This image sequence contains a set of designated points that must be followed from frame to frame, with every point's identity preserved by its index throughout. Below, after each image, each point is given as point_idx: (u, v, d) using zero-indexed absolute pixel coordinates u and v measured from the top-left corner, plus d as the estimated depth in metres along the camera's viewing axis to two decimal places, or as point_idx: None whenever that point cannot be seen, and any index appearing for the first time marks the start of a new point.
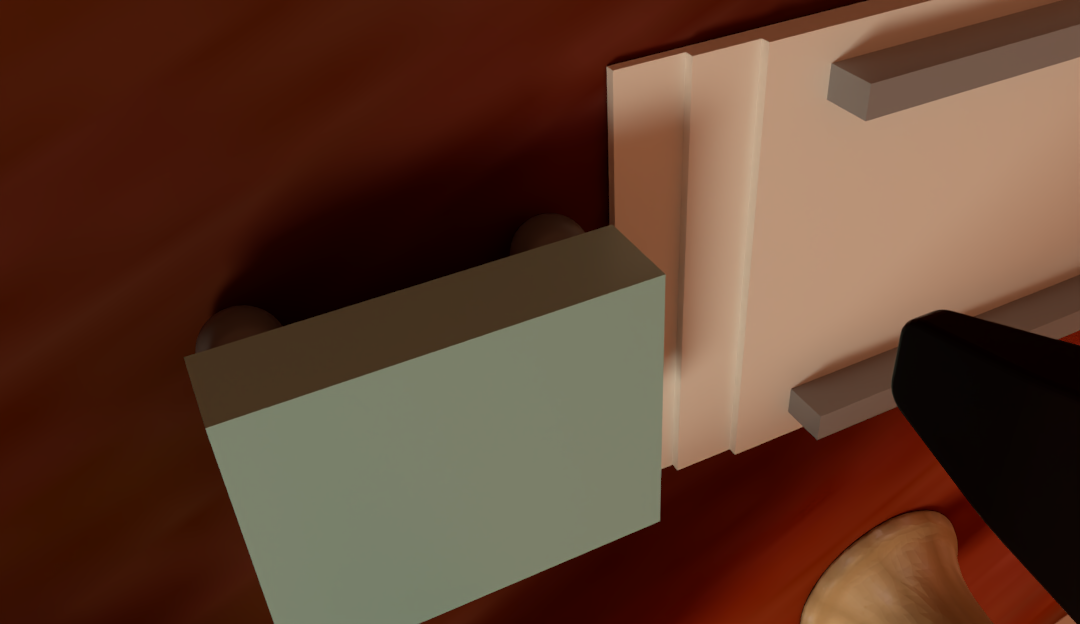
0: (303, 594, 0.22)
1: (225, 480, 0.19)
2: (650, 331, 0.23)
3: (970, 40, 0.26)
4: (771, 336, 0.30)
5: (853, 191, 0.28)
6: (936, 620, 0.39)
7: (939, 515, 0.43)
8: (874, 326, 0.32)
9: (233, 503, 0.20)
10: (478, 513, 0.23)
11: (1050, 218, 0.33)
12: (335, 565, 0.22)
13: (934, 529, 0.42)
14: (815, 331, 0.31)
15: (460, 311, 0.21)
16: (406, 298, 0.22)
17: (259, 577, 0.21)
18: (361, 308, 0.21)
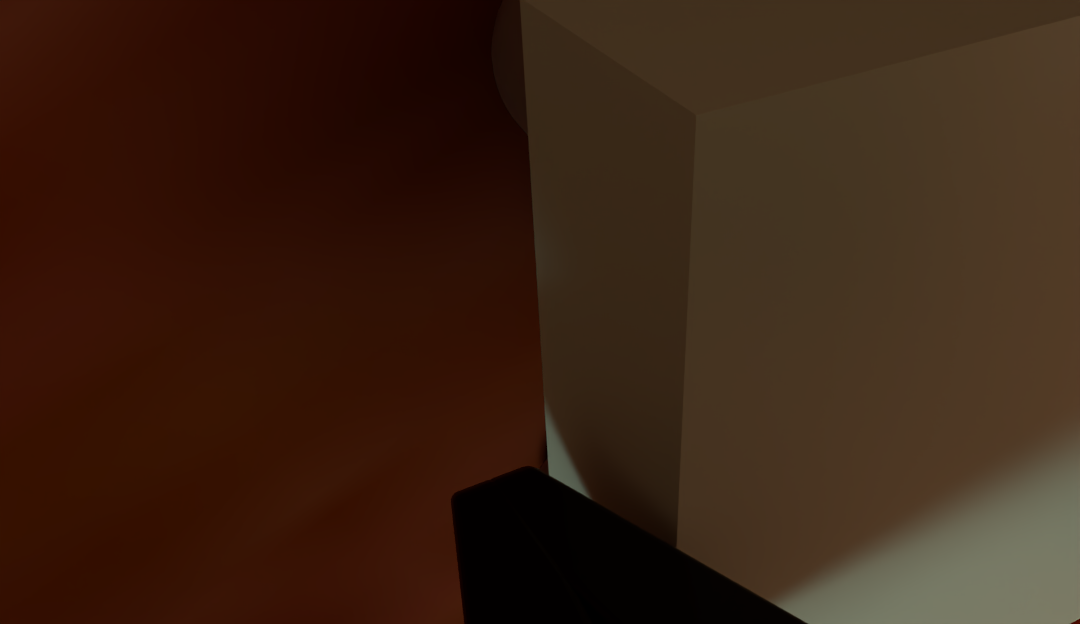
0: None
1: (689, 318, 0.06)
2: None
3: None
4: None
5: None
6: None
7: None
8: None
9: (686, 396, 0.07)
10: None
11: None
12: (826, 581, 0.09)
13: None
14: None
15: None
16: None
17: None
18: None
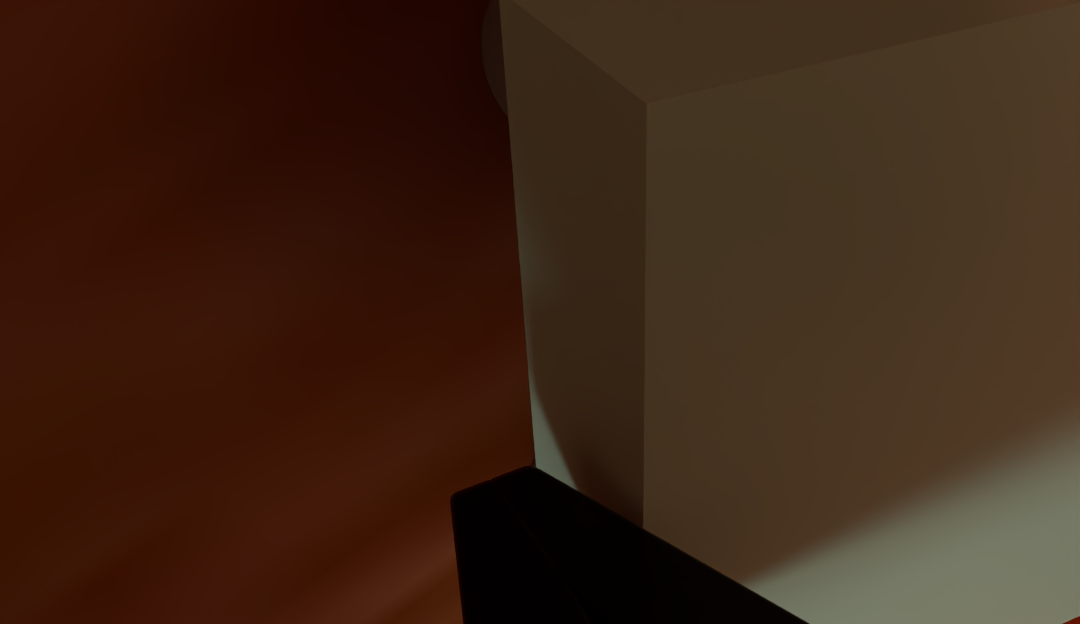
0: None
1: (647, 303, 0.07)
2: None
3: None
4: None
5: None
6: None
7: None
8: None
9: (647, 379, 0.07)
10: None
11: None
12: (801, 569, 0.09)
13: None
14: None
15: None
16: None
17: None
18: None
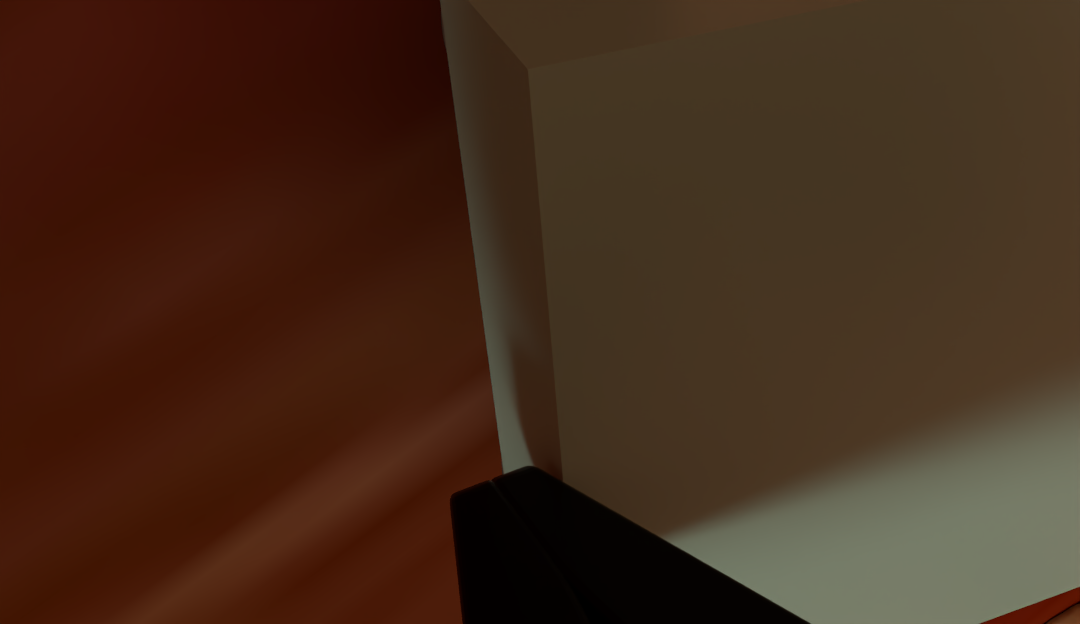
0: None
1: (547, 261, 0.07)
2: None
3: None
4: None
5: None
6: None
7: None
8: None
9: (554, 335, 0.07)
10: (1036, 442, 0.10)
11: None
12: (733, 532, 0.09)
13: None
14: None
15: None
16: None
17: None
18: None
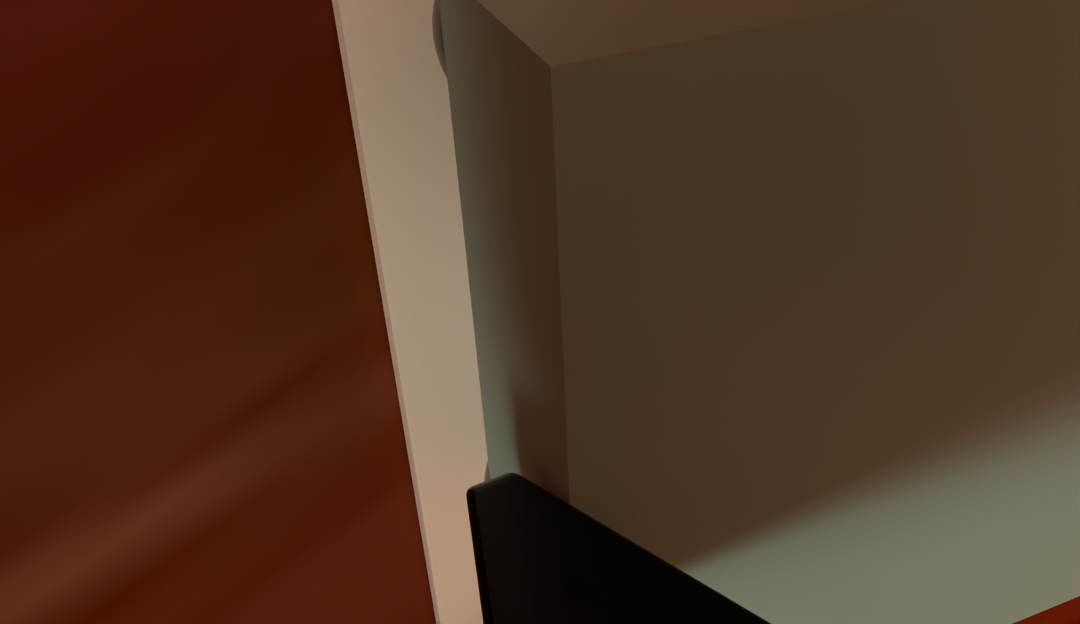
0: None
1: (562, 270, 0.07)
2: None
3: None
4: None
5: None
6: None
7: None
8: None
9: (566, 348, 0.07)
10: (1033, 454, 0.10)
11: None
12: (738, 551, 0.09)
13: None
14: None
15: None
16: None
17: None
18: None
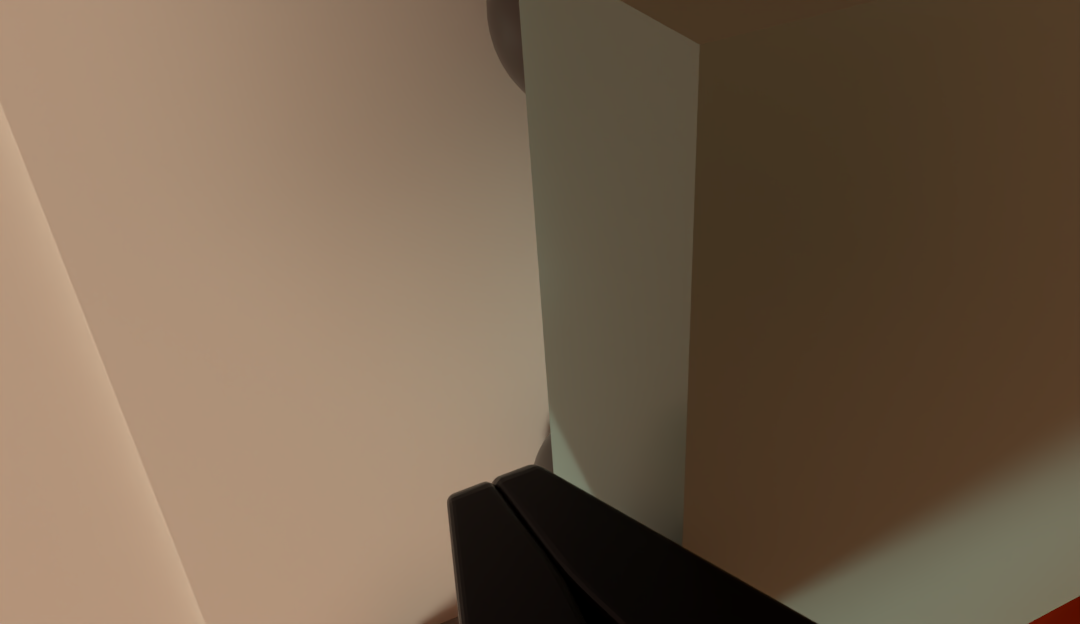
0: None
1: (694, 264, 0.06)
2: None
3: None
4: (274, 549, 0.12)
5: (418, 175, 0.10)
6: None
7: None
8: None
9: (692, 347, 0.07)
10: None
11: None
12: (838, 546, 0.09)
13: None
14: (414, 524, 0.13)
15: None
16: None
17: None
18: None
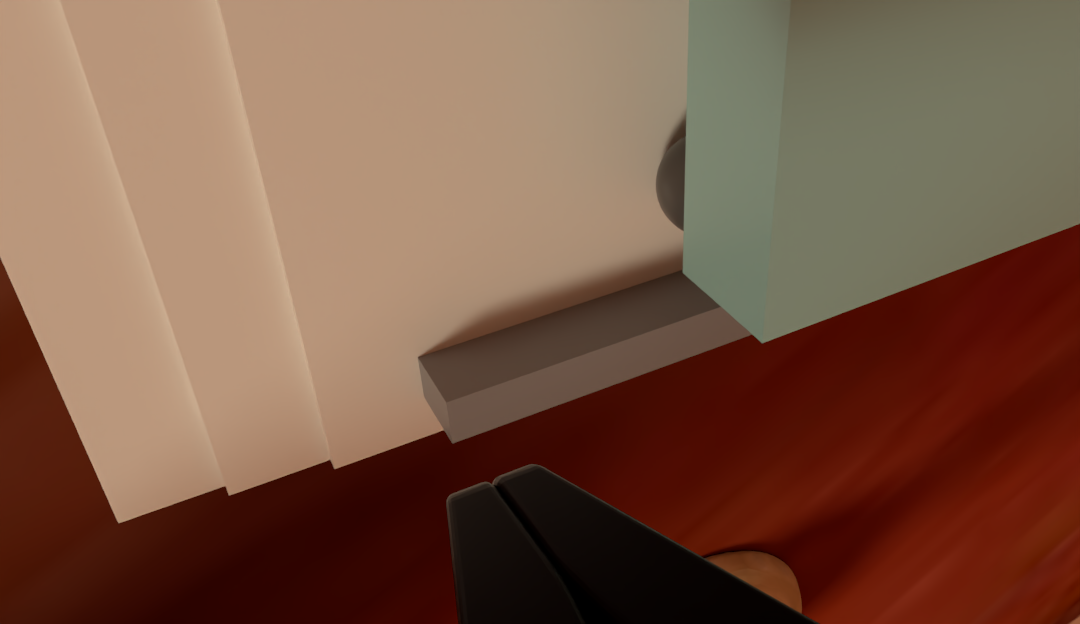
0: (816, 192, 0.15)
1: None
2: None
3: None
4: (343, 259, 0.17)
5: None
6: None
7: (766, 557, 0.29)
8: (562, 252, 0.19)
9: None
10: (1032, 101, 0.16)
11: None
12: (865, 145, 0.15)
13: (755, 578, 0.29)
14: (439, 255, 0.18)
15: None
16: None
17: (781, 139, 0.14)
18: None
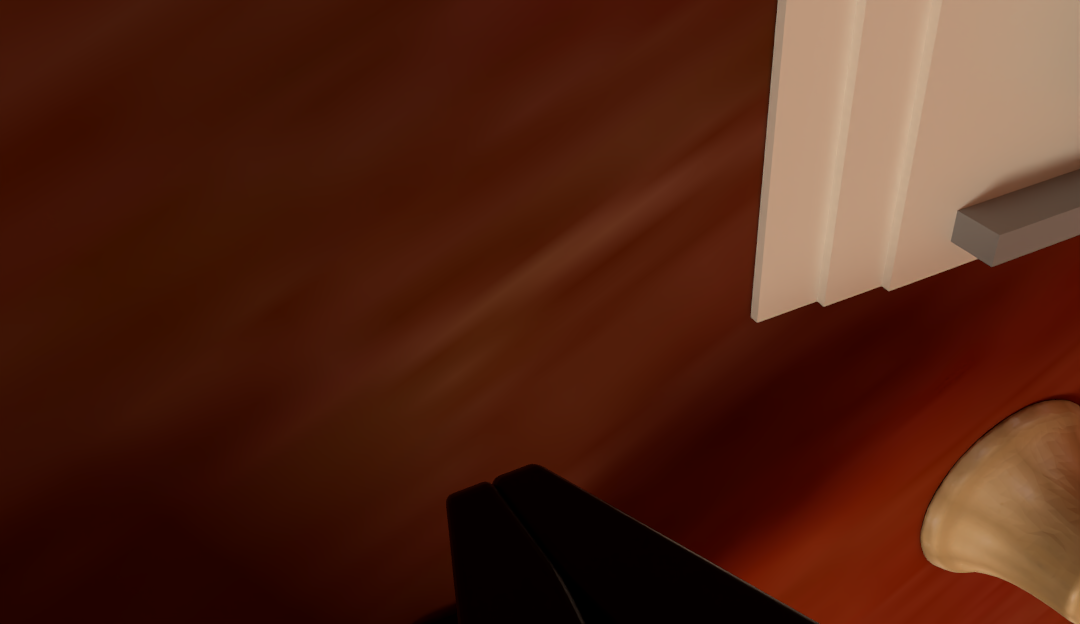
0: None
1: None
2: None
3: None
4: (946, 135, 0.25)
5: None
6: None
7: (1078, 406, 0.38)
8: (1053, 139, 0.28)
9: None
10: None
11: None
12: None
13: (1075, 420, 0.37)
14: (992, 136, 0.26)
15: None
16: None
17: None
18: None
